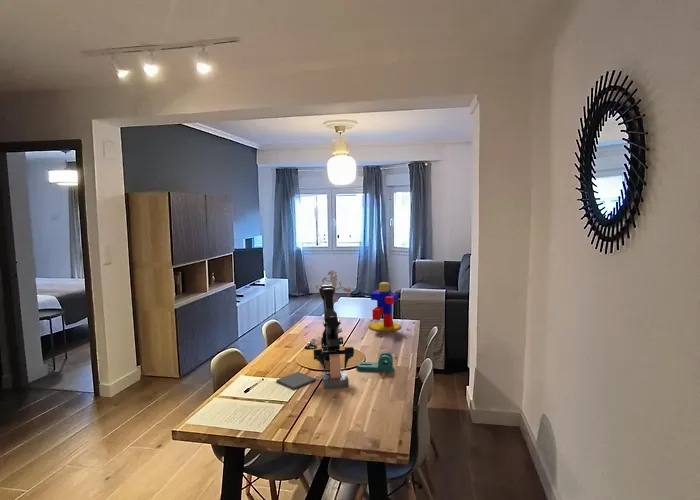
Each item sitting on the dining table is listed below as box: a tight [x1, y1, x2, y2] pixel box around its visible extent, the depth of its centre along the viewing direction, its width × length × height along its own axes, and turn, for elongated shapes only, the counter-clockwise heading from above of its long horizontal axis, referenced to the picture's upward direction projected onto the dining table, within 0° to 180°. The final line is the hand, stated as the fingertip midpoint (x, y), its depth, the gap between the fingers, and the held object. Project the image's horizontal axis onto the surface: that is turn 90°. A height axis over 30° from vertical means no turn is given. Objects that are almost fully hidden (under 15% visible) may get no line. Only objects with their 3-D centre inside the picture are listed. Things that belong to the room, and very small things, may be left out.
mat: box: [275, 371, 317, 390], centre depth 203 cm, size 13×13×1 cm
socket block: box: [321, 370, 350, 390], centre depth 200 cm, size 11×11×4 cm
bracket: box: [355, 351, 394, 373], centre depth 216 cm, size 18×7×8 cm, turn 81°
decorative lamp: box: [315, 269, 353, 333], centre depth 279 cm, size 28×24×40 cm
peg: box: [329, 354, 341, 379], centre depth 199 cm, size 4×4×13 cm
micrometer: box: [304, 338, 318, 350], centre depth 255 cm, size 15×7×2 cm, turn 163°
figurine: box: [368, 281, 402, 333], centre depth 287 cm, size 22×22×30 cm
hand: (335, 370), depth 198 cm, fingers open, 9 cm apart
